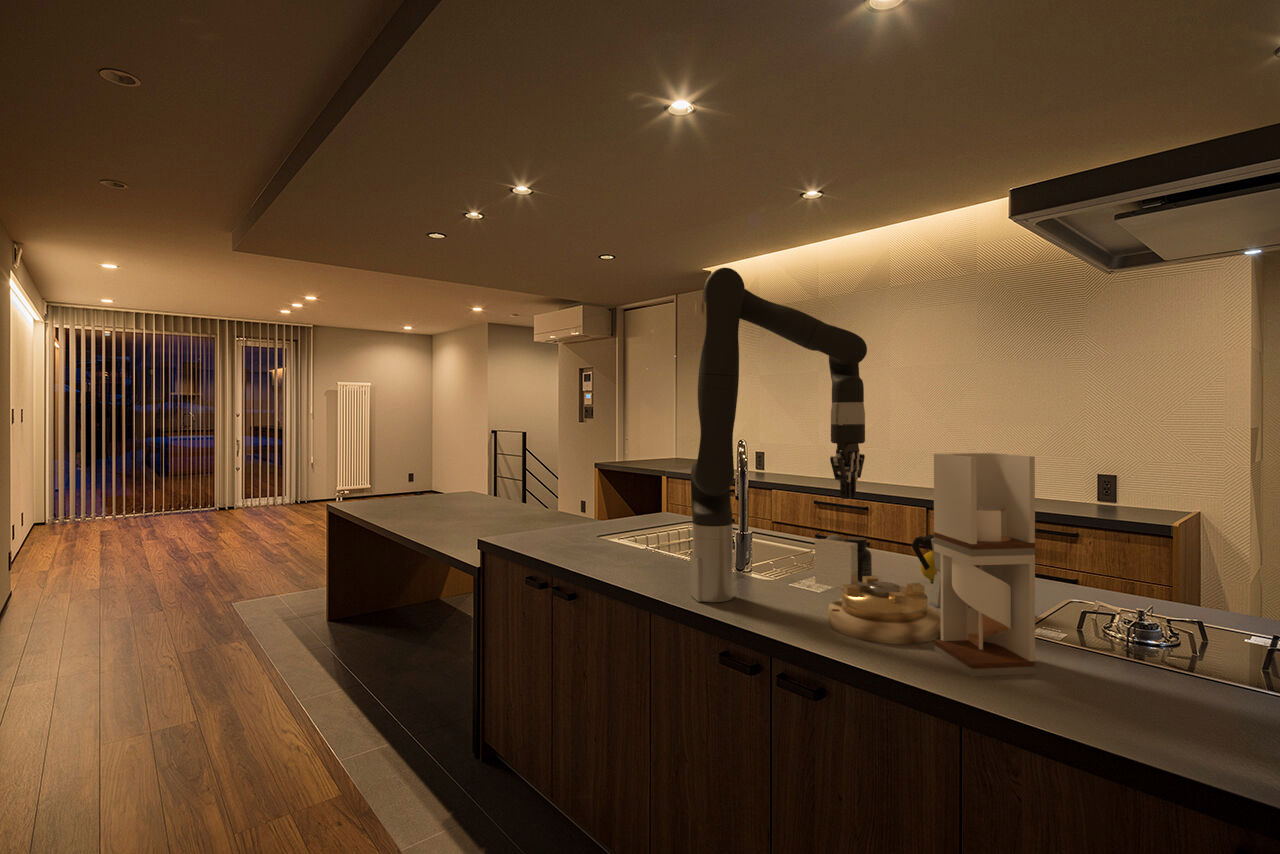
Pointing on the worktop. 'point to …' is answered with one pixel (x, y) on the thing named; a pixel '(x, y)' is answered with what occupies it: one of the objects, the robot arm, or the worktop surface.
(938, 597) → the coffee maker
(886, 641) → the cap plate
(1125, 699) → the worktop surface
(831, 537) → the light bulb
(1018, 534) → the white tower model
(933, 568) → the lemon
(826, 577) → the gold stand with panel
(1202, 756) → the worktop surface
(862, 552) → the supplement bottle
